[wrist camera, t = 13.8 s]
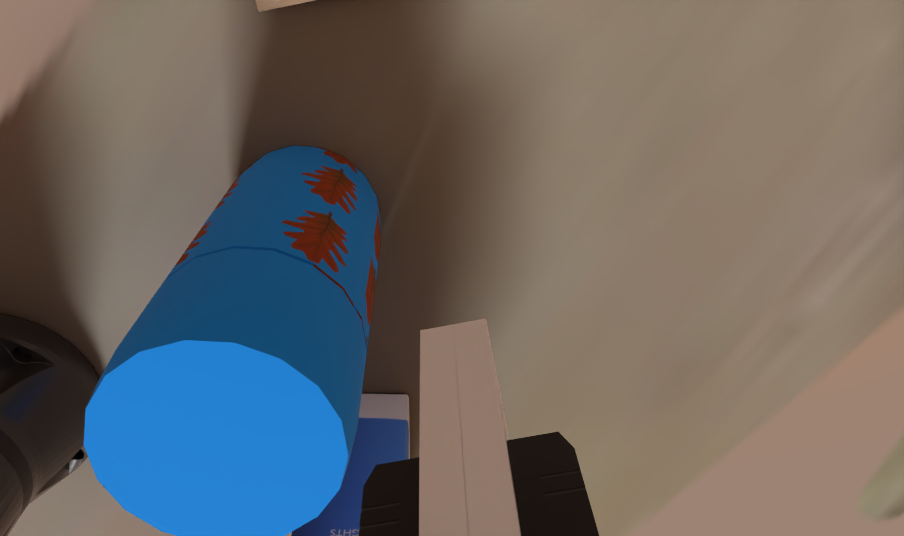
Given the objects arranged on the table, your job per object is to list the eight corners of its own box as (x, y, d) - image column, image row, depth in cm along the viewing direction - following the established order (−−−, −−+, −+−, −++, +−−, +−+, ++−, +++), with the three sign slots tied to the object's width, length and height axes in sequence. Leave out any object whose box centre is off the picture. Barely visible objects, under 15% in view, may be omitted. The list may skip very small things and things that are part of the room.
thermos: (277, 111, 48) (150, 284, 26) (412, 196, 51) (403, 418, 29) (203, 236, 52) (36, 482, 29) (332, 308, 55) (270, 581, 32)
